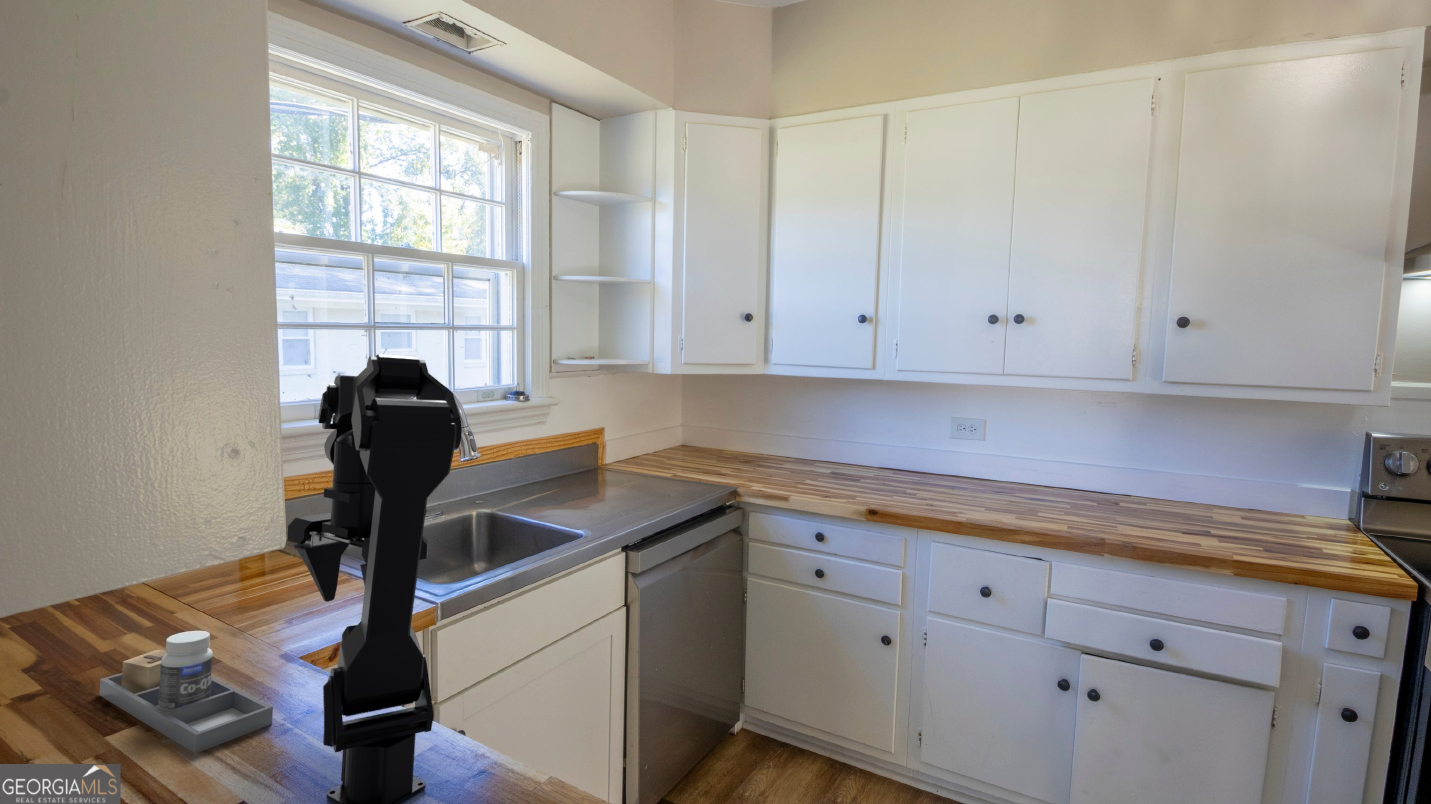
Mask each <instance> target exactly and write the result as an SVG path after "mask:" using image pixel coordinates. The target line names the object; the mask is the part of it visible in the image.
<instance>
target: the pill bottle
mask: <svg viewBox="0 0 1431 804" xmlns="http://www.w3.org/2000/svg"><path fill="white" fill-rule="evenodd" d="M210 644H211V634H210V632H208V631H204V630H190V631H184V632H183V631H182V632H178V633H175V634H173V635H170V636H168V637H167V638H166V641H165V651H166V653H167V654H166V655H164V656H163V658H162V660H161V668H160V686H159V703H158V708H159V709H161V710H163V711H165V712H166V711H169V710H172V709H175V708H179V707H182V706H185V705H188V704H191V703H194V702H197V701H200V700H203V699H206V698H209V697H211V681H212V677H213V676H212V674H213V661H214V660H213V659H214V652H213V650H212V649H211V648H209V647H210Z"/></svg>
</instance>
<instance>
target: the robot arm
mask: <svg viewBox="0 0 1431 804" xmlns="http://www.w3.org/2000/svg"><path fill="white" fill-rule="evenodd" d="M454 396H455V395H454V393H453V392H452V390H450V389H449V388H448V387H447V386H446V385H444V384H443V383H442V382H441V381H439V380H438V379H437V378H436V377H434V376H433V375H432V374H431V373H429V369H428V365H427V363H426V360H424V359H420V358H418V356H409V355H408V356H406V355H395V354H394V355H392V354H380V353H378V354H376V355H375V356H373V355H371V356H370V355H369V356H368V358H367V363H366V367H365V368H363V370H362V371H361V372H360V373H359V374H358V375H350V374H349V375H347V374H345V375H344V374H338V375H336V376H335V378H334V380H333V383H329V384H328V385H326V391H323V393H322V395H321V400H320V404H319V405H320V406H319V410H318V411H319V412H318V424H322V429H323V430H333V431H332V432H330V434H329V435H328V436H327V437H326V439H325V442H324V447H323V448H324V454H325V456H326V458H327V460H329V462H330V463H331V464H332V465H333V469H332V471H333V472H332V473H333V474H332V487H327V488H325V487H324V488H323V498H325V499H326V498H328V499H331V506H330V507H331V508H330V512H326V513H325V512H324V513H318V514H311V515H303V516H296V517H295V518H294V519H293V520H292V521H291V522H290V523H289V524H288V525H287V538H286V539H287V542H291V543H295V544H293V549H294V550H295V551H297V553H298V554H299V556H300V558H301V559H302V561H303V563H304V565H305V566H306V568H307V570H308V571H309V574H310V576H311V578H312V579H313V582H314V583H315V585H316V587H317V589H318V592H319V593H320V595H321V597H322V600H323V601H324V602H326V603H327V602H332V601H334V600H335V598H336V594H337V588H338V582H339V576H340V575H339V574H340V567H341V560H342V555H343V554H344V553H345V551H346V550H347V549H348V547H350V546H354V547H357V548H360V549H361V557H362V558H363V560H364V562H365V563H362V564H360V565H359V567H360V570H361V575H362V580H363V585H364V589H363V590H364V591H363V601H362V609H361V610H362V611H361V618H360V622H358V624H355V625H348V626H346V627H345V629H344V631H343V632H342V634H341V642H340V645H339V653H338V658H337V659H338V660H337V667H334V668H331V669H330V674H329V676H328V678H327V681H326V683H325V684H324V685H323V686H322V694H323V695H322V698H323V700H322V701H323V703H322V704H323V735H322V736H323V737H322V738H323V739H322V740H323V741H322V743H323V746H326V747H331V748H333V751H334V753H340V752H342V756H341V758H342V760H341V777H340V781H341V784H340V785H338V786H335V787H333V788H332V789H329V790H328V791H327V792H326V796H325V797H326V800H328V801H329V802H331V803H333V804H401V803H403V802H405V801H407V800H409V799H410V798H411V797H413V796H415V795H417V794H419V793H420V792H422V791H424V790H426V781H424V780H422V779H421V778H419V777H416V776H414V767H415V766H414V765H415V750H416V734H419V733H423V732H424V733H428V732H431V731H432V726H433V722H434V707H433V700H432V693H431V687H430V678H429V671H428V664H427V658H426V656H425V654H424V653H423V652H422V649H421V645H420V643H419V639H418V637H417V634H416V631H415V629H414V628H413V626H412V620H413V619H412V618H413V611H414V607H415V605H414V604H415V597H416V589H417V584H418V583H417V581H418V574H419V567H420V561H421V560H425V559H428V555H429V554H428V552H429V550H428V549H429V541H428V540H427V539H426V537H425V536H424V529H425V521H426V515H427V513H428V509H427V505H428V500H429V497H430V496H431V495H432V494H433V493H434V492H435V491H436V490H437V489H438V487H439V486H441V484H442V483H443V482H444V481H445V480H446V478H447V477H448V476H449V475H450V472H451V468H452V463H453V458H454V453H455V451H457V450H459V448H460V445H461V441H462V440H461V439H462V433H463V429H462V427H463V426H462V420H461V415H460V412H459V409H458V406H457V402H456V400H455V399H456V398H455V397H454ZM411 397H412V398H414V397H415V399H411ZM412 704H414V706H413V707H408V708H402V709H397V710H392V711H388V712H383V713H377V714H374V715H368V716H364V717H359V718H354V719H349V720H344V718H343V717H344V716H345V717H346V718H348V717H352V716H358V715H363V714H367V713H372V712H376V711H382V710H386V709H387V710H388V709H391V708H396V707H401V706H407V705H412Z"/></svg>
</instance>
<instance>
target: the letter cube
mask: <svg viewBox="0 0 1431 804" xmlns="http://www.w3.org/2000/svg"><path fill="white" fill-rule="evenodd" d="M166 654H167V653H166V650H162V649H155V650H152V651H150V652H147V653H144V654H141V655H138V656H135V657H131V658H129V659H127V660H123V661H122V672H121V673H122V687H123V688H125V689H126V690H128V691H130V692H132V693H133V694H136V693H139V692H142V691H146V690H149V689H152V688H156V687H159V686H160V668H161V660H162V658H163V656H164V655H166Z"/></svg>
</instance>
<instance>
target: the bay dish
mask: <svg viewBox="0 0 1431 804" xmlns="http://www.w3.org/2000/svg"><path fill="white" fill-rule="evenodd" d="M99 696H100V697H101V698H103V699H105V700H106V701H108V702H110V703H112V704H113V705H114V706H116V707H118V708H119V709H121V710H122V711H125V712H126V713H128V714H130V715H131V716H132V717H134V718H136V719H138V720H139V721H141V722H142V723H144V724H145V725H147V726H149V727H151V728H152V729H154V730H155V731H157V732H158V733H160V734H162V735H163V736H165V737H167V738H168V739H170V740H172V741H174V742H176V743H177V744H178V745H180V746H182V747H184V748H185V749H187V750H188V751H190V752H192V753H193V754H194V755H196V754H199V753H201V752H204V751H206V750H210V749H211V748H215V747H216V746H219V745H222V744H224V743H227V742H230V741H232V740H234V739H237V738H240V737H242V736H244V735H248V734H250V733H252V732H256V731H257V730H260V729H263V728H265V727H268V726H270V725H273V716H274V715H273V713H274V712H273V711H274V706H273V705H270V704H268V703H266V702H264V701H262V700H260V699H258V698H256V697H254V696H252V695H250V694H248V693H246V692H245V691H244V692H243V691H242V690H240V689H238V688H236V687H235V686H231V685H230V684H228V683H225V682H224V681H221V680H220V679H218V678H216V677H213V676H212V681H211V697H209V698H206V699H203V700H200V701H197V702H194V703H191V704H188V705H185V706H182V707H179V708H175V709H172V710H169V711H166V712H165V711H163V710H161V709H159V708H158V703H159V687H156V688H152V689H149V690H146V691H142V692H139V693H136V694H133V693H132V692H130V691H128V690H126V689H125V688H123V687H122V672H120V673H117V674H114V675H110V676H106V677H103V678H100V681H99Z"/></svg>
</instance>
